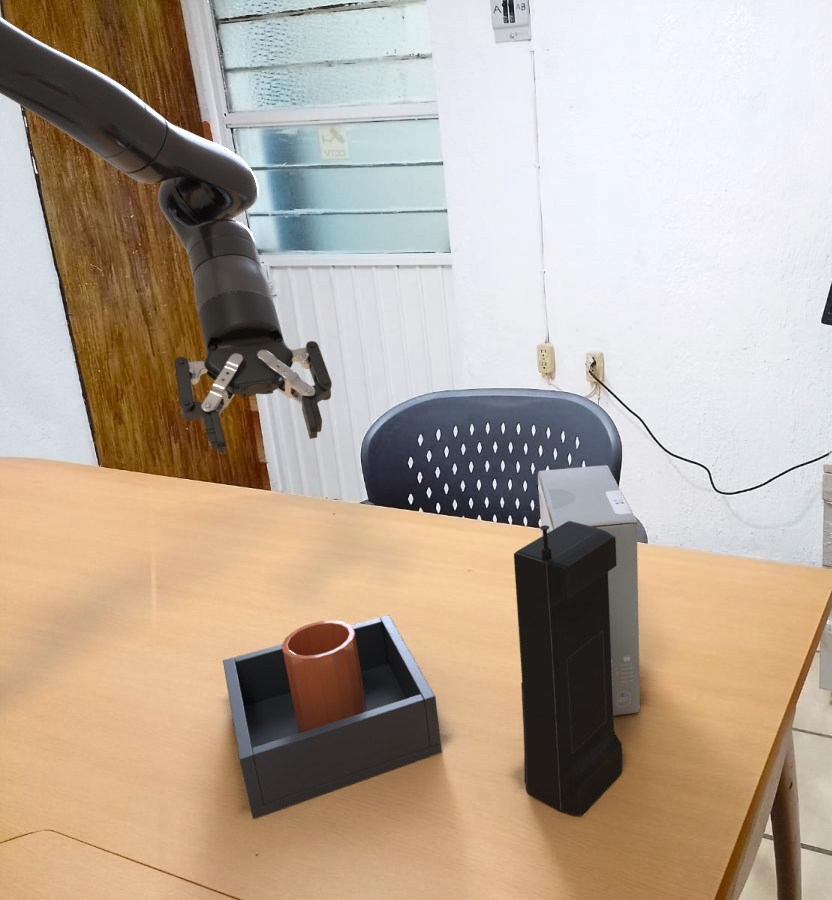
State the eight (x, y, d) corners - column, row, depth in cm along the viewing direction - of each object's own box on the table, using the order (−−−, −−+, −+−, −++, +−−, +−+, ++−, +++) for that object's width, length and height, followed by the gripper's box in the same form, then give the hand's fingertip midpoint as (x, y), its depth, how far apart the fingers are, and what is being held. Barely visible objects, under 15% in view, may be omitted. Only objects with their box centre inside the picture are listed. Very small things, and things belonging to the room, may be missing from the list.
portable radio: (575, 739, 75) (562, 484, 67) (631, 764, 72) (623, 499, 64) (519, 791, 69) (496, 519, 61) (577, 821, 66) (561, 537, 58)
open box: (252, 819, 67) (239, 759, 65) (234, 712, 81) (222, 659, 79) (442, 752, 74) (435, 696, 72) (396, 664, 88) (389, 614, 86)
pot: (304, 752, 73) (287, 666, 70) (293, 714, 79) (277, 632, 76) (373, 729, 76) (361, 645, 73) (359, 694, 81) (346, 614, 78)
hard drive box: (642, 715, 78) (638, 522, 72) (562, 725, 77) (550, 531, 71) (613, 628, 93) (607, 462, 86) (545, 636, 92) (534, 468, 85)
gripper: (157, 295, 81) (185, 436, 75) (307, 281, 87) (344, 411, 82) (167, 339, 87) (194, 473, 82) (306, 323, 94) (341, 447, 88)
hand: (269, 442), depth 82 cm, fingers open, 8 cm apart
